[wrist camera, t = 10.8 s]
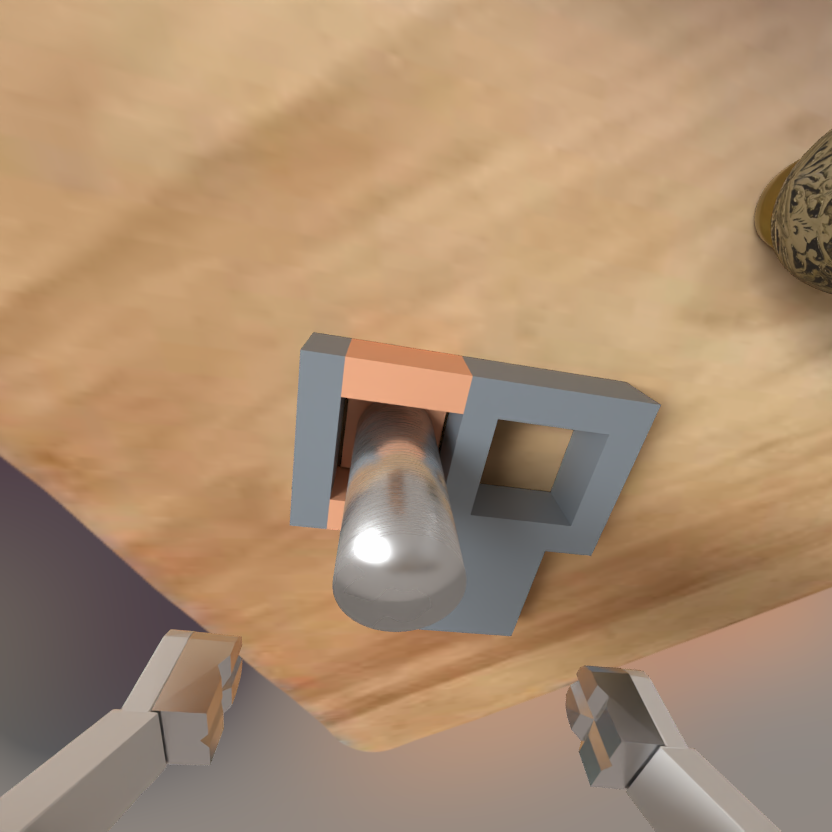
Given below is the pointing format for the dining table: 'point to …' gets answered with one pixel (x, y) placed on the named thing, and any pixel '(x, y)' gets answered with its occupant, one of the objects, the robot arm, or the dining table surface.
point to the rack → (472, 457)
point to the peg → (397, 526)
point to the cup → (801, 216)
